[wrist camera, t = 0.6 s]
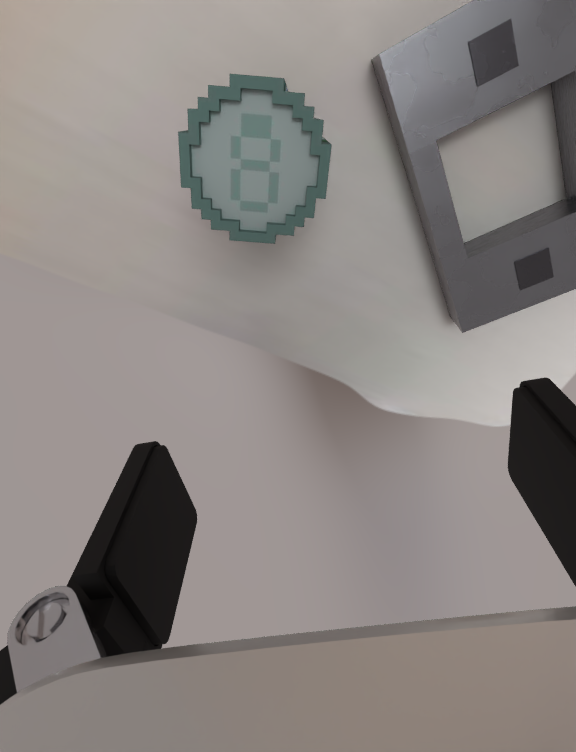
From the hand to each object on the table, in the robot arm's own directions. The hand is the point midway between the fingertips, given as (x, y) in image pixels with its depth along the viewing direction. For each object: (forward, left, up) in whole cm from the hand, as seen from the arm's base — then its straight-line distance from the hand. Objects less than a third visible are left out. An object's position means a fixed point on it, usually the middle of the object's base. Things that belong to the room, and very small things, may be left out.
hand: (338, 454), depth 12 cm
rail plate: (-14, +2, -26) cm, 29 cm away
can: (0, -7, -26) cm, 27 cm away
